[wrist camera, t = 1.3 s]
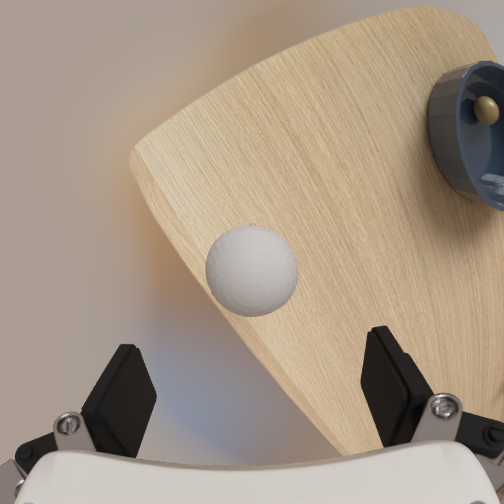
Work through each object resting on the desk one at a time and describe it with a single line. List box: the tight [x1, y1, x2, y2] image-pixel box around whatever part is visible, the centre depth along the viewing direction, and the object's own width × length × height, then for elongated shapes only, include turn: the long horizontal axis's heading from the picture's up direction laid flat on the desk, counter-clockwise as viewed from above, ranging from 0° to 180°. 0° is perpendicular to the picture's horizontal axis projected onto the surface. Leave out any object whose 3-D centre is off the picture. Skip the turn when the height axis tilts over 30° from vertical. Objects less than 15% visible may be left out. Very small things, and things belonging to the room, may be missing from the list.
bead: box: [473, 96, 499, 125], centre depth 23 cm, size 4×4×4 cm
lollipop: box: [206, 224, 298, 317], centre depth 24 cm, size 6×6×15 cm
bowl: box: [428, 61, 504, 211], centre depth 23 cm, size 17×17×6 cm
